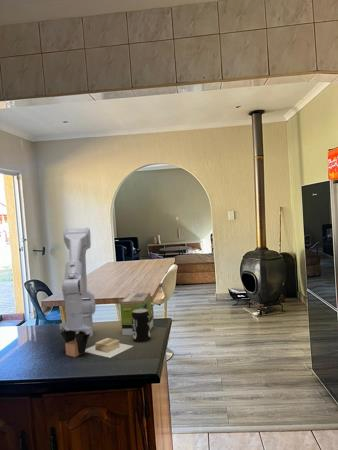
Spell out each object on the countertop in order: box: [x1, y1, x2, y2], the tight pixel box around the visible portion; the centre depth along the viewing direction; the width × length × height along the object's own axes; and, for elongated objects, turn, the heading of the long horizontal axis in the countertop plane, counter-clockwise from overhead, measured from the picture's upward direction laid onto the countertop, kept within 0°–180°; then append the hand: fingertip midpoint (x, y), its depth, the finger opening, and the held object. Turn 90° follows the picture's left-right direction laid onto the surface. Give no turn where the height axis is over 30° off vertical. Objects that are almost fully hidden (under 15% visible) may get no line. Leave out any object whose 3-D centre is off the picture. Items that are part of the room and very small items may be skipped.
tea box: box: [119, 292, 154, 336], centre depth 151 cm, size 15×10×15 cm
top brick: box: [64, 339, 86, 358], centre depth 127 cm, size 4×4×5 cm
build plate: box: [85, 342, 134, 359], centre depth 130 cm, size 14×12×1 cm
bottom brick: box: [94, 337, 120, 353], centre depth 130 cm, size 6×6×2 cm
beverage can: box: [132, 308, 152, 343], centre depth 138 cm, size 7×7×12 cm
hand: (76, 351), depth 128 cm, fingers open, 5 cm apart
